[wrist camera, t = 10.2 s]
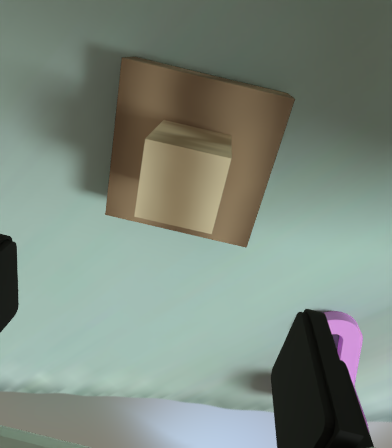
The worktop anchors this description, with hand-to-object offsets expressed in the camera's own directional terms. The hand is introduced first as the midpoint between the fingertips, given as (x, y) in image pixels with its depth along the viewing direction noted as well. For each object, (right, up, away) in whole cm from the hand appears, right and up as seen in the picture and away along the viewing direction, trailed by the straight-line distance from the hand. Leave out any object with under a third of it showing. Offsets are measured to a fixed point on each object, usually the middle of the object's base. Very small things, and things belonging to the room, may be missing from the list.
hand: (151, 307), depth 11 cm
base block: (+1, +9, +18) cm, 21 cm away
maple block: (+1, +7, +15) cm, 17 cm away
